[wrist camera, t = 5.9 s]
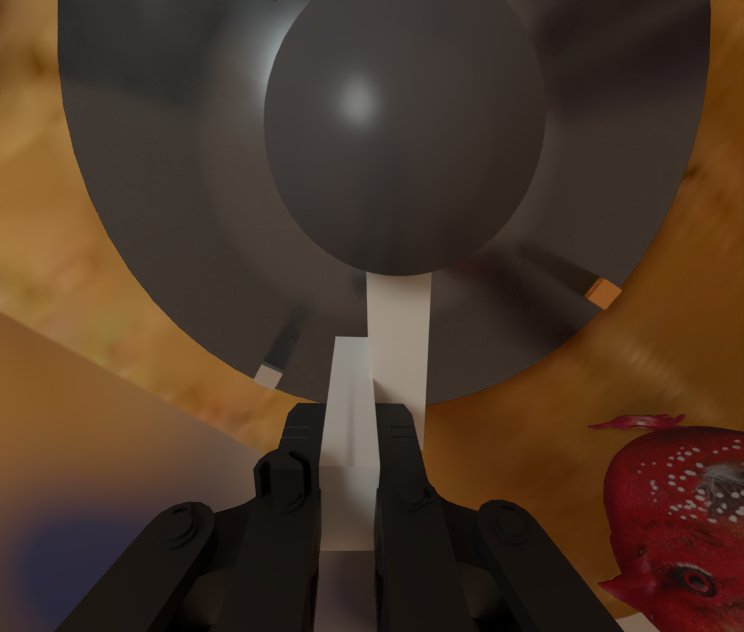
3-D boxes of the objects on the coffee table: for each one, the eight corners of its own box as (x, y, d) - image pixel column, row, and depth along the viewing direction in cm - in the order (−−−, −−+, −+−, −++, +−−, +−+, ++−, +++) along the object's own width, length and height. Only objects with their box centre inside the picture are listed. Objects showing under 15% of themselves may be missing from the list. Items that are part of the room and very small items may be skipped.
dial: (293, 51, 11) (241, -42, 6) (483, 48, 11) (571, -46, 6) (322, 387, 16) (305, 477, 11) (455, 383, 16) (493, 471, 11)
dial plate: (223, -560, 8) (186, -756, 6) (801, 36, 13) (868, 15, 11) (36, 258, 15) (-6, 268, 13) (452, 450, 19) (460, 476, 18)
